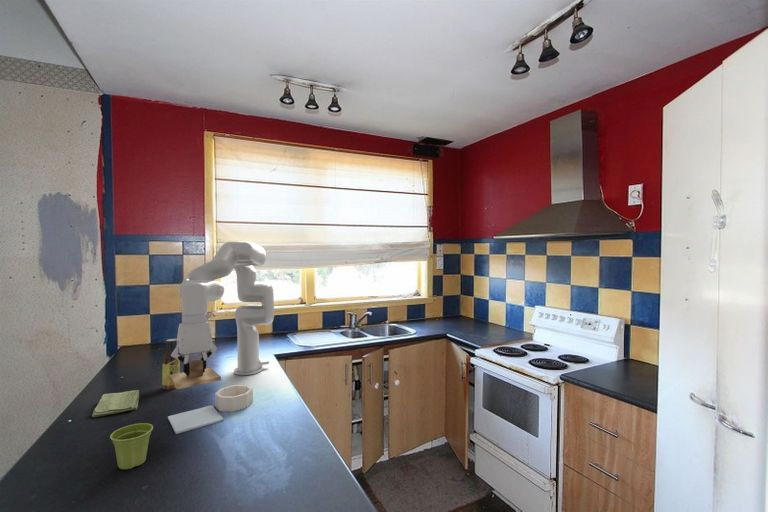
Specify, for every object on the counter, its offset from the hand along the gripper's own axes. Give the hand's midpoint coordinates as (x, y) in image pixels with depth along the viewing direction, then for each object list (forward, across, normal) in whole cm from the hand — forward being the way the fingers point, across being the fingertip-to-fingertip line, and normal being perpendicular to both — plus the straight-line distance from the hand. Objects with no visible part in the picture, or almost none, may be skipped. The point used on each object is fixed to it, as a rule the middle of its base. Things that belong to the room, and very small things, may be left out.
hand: (194, 372), depth 122 cm
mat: (+16, 0, 0) cm, 16 cm away
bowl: (+16, -14, -4) cm, 22 cm away
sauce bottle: (+16, +1, -38) cm, 41 cm away
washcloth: (+17, +19, -30) cm, 40 cm away
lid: (+2, 0, 0) cm, 2 cm away
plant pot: (+16, +19, +17) cm, 30 cm away
